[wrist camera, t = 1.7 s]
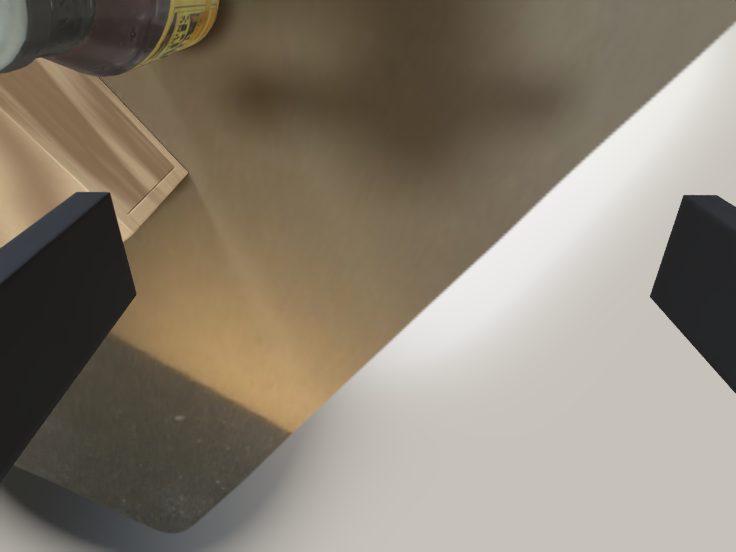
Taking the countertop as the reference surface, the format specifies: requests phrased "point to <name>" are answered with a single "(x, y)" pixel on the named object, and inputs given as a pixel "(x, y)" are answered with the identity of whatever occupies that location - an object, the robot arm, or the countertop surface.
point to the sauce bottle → (100, 32)
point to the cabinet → (75, 149)
